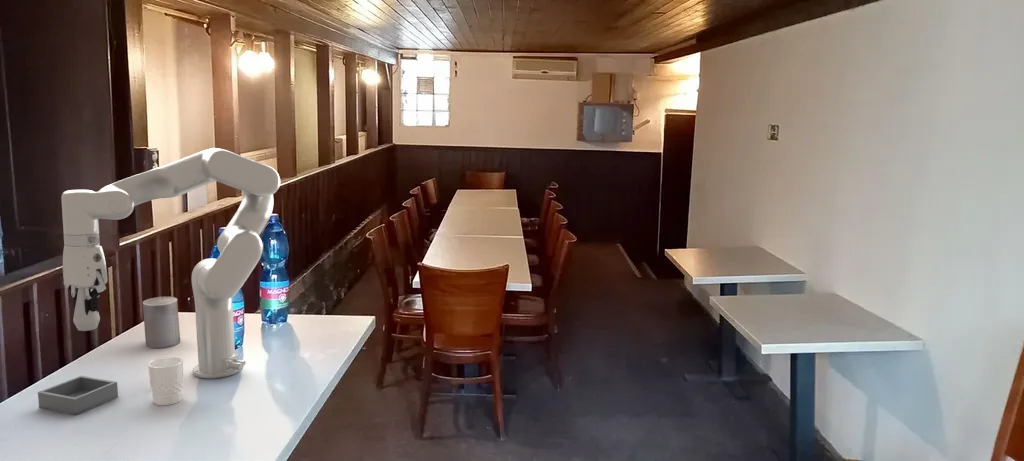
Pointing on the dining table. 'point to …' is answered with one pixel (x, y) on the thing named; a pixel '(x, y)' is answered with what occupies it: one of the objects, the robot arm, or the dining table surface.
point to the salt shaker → (84, 313)
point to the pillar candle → (161, 322)
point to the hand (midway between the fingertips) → (86, 312)
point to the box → (78, 395)
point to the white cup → (166, 380)
